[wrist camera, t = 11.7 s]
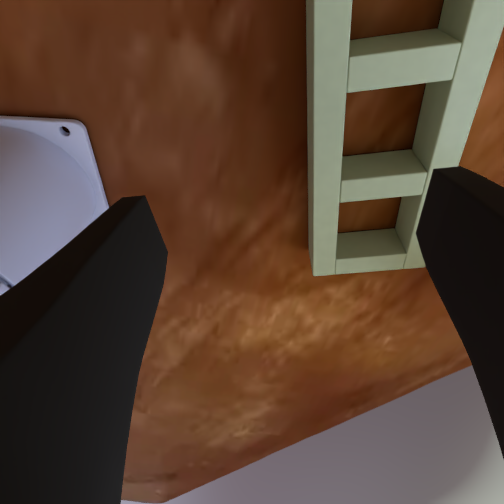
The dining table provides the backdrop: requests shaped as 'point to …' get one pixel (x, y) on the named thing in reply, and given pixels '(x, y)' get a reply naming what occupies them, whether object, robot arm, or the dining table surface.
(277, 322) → the dining table surface
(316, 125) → the rack
